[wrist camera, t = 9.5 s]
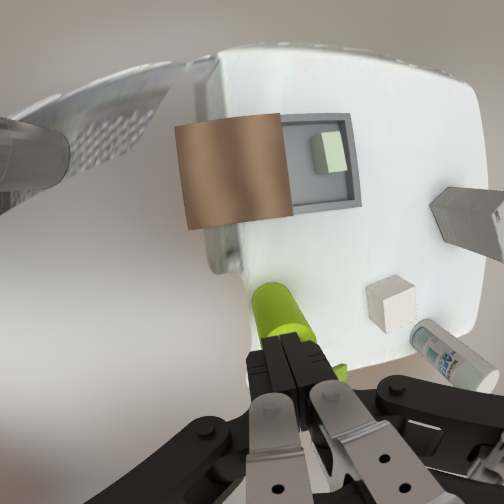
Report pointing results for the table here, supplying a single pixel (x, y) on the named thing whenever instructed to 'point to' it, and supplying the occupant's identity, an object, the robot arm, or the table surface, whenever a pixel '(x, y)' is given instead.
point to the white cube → (391, 303)
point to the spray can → (453, 358)
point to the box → (303, 167)
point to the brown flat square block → (233, 170)
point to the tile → (328, 152)
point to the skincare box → (472, 220)
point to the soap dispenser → (283, 317)
